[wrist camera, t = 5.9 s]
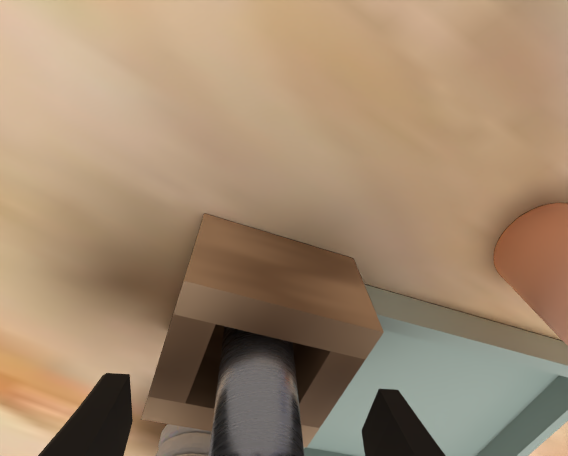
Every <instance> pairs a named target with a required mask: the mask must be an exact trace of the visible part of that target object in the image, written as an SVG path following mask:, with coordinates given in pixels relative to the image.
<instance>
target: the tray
mask: <svg viewBox="0 0 568 456" xmlns="http://www.w3.org/2000/svg"><path fill="white" fill-rule="evenodd" d="M364 285H365V284H364ZM365 288H366V290H367V293H368V295H369V298H370V300H371V302H372V305H373V307H374V310H375V312H376V315H377V317H378V319H379V322H380V324H381V327H382V329H383V332H384V333H383V334H382V336H381V337H380V339H379V340H378V342H377V343H376V345H375V346H374V348H373V349H372V351H371V352H370V354H369V355H368V357H367V358H366V360H365V361H364V363H363V364H362V366H361V367H360V369H359V370H358V372H357V373H356V375H355V376H354V378H353V379H352V381H351V382H350V384H349V385H348V387H347V388H346V390H345V391H344V393H343V394H342V396H341V397H340V399H339V400H338V402H337V403H336V405H335V406H334V408H333V409H332V411H331V412H330V414H329V415H328V417H327V418H326V420H325V421H324V423H323V424H322V426H321V427H320V428H319V430H318V431H317V433H316V434H315V436H314V437H313V439H312V440H311V442H310V443H309V445H308V446H307V448H306V447H304V456H365V452H364V445H363V438H362V428H363V426H364V423H365V421H366V418H367V416H368V414H369V411H370V409H371V406H372V404H373V401H374V399H375V397H376V394H377V392H378V389H394V390H399V392H400V393H401V394H402V396H403V397H404V398H405V400H406V401H407V403H408V404H409V406H410V407H411V408H412V410H413V411H414V413H415V414H416V415H417V417H418V418H419V420H420V421H421V422H422V424H423V425H424V427H425V428H426V429H427V431H428V432H429V434H430V435H431V436H432V438H433V439H434V440H435V442H436V443H437V445H438V446H439V447H440V449H441V450H442V451H443V453H444V454H445V455H446V456H528V455H529V454H530V453H532V452H533V451H534V450H535V449H536V448H537V447H538V446H540V445H541V444H542V443H543V442H544V441H545V440H546V439H548V438H549V437H550V436H551V435H552V434H553V433H554V432H555V431H557V430H558V429H559V428H560V427H561V426H562V425H563V424H565V423H566V422H567V421H568V346H567V345H566V344H565V343H564V342H563V341H560V340H556V339H553V338H550V337H546V336H543V335H539V334H536V333H532V332H529V331H525V330H522V329H518V328H515V327H511V326H508V325H504V324H501V323H497V322H494V321H490V320H487V319H483V318H480V317H476V316H473V315H469V314H466V313H462V312H459V311H455V310H452V309H448V308H445V307H442V306H438V305H435V304H431V303H428V302H424V301H421V300H417V299H414V298H410V297H407V296H403V295H400V294H396V293H393V292H389V291H386V290H382V289H379V288H375V287H372V286H368V285H365Z"/></svg>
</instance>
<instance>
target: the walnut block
mask: <svg viewBox="0 0 568 456" xmlns="http://www.w3.org/2000/svg"><path fill="white" fill-rule="evenodd" d="M224 326H226V327H230V328H234V329H238V330H243V331H247V332H251V333H255V334H260V335H264V336H268V337H272V338H277V339H281V340H285V341H289V342H293V352H294V361H295V371H296V380H297V390H298V399H299V409H300V418H301V428H302V437H303V447H306V448H307V446H308V445H309V443H310V442H311V440H312V439H313V437H314V436H315V434H316V433H317V431H318V430H319V428H320V427H321V426H322V424H323V423H324V421H325V420H326V418H327V417H328V415H329V414H330V412H331V411H332V409H333V408H334V406H335V405H336V403H337V402H338V400H339V399H340V397H341V396H342V394H343V393H344V391H345V390H346V388H347V387H348V385H349V384H350V382H351V381H352V379H353V378H354V376H355V375H356V373H357V372H358V370H359V369H360V367H361V366H362V364H363V363H364V361H365V360H366V358H367V357H368V355H369V354H370V352H371V351H372V349H373V348H374V346H375V345H376V343H377V342H378V340H379V339H380V337H381V336H382V334H383V333H384V332H383V329H382V327H381V324H380V322H379V319H378V317H377V315H376V312H375V310H374V307H373V305H372V302H371V300H370V298H369V295H368V293H367V290H366V288H365V285H364V283H363V280H362V278H361V276H360V273H359V271H358V268H357V266H356V263H355V261H354V259H353V258H350V257H347V256H344V255H340V254H337V253H334V252H330V251H327V250H324V249H320V248H317V247H314V246H311V245H307V244H304V243H301V242H297V241H294V240H291V239H287V238H284V237H281V236H277V235H274V234H271V233H268V232H264V231H261V230H258V229H254V228H251V227H248V226H244V225H241V224H238V223H234V222H231V221H228V220H225V219H221V218H218V217H215V216H211V215H208V214H205V213H204V216H203V219H202V223H201V226H200V229H199V232H198V236H197V239H196V242H195V245H194V248H193V252H192V255H191V258H190V261H189V265H188V268H187V271H186V274H185V278H184V281H183V284H182V287H181V291H180V294H179V297H178V300H177V304H176V307H175V310H174V313H173V316H172V320H171V323H170V326H169V329H168V333H167V336H166V339H165V342H164V346H163V349H162V352H161V355H160V359H159V362H158V365H157V368H156V372H155V375H154V378H153V381H152V385H151V388H150V391H149V395H148V398H147V401H146V404H145V408H144V411H143V414H142V417H141V420H147V421H153V422H159V423H164V424H170V425H176V426H182V427H188V428H194V429H200V430H206V431H212V425H213V417H214V409H215V400H216V392H217V384H218V375H219V367H220V359H221V350H222V342H223V334H224Z"/></svg>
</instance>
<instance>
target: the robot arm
mask: <svg viewBox="0 0 568 456" xmlns="http://www.w3.org/2000/svg"><path fill="white" fill-rule="evenodd" d="M131 425H132V406H131V390H130V375H129V374H112V373H106V374H105V375H103V376H102V377H101V379H100V380H99V381H98V383H97V384H96V385H95V387H94V388H93V389H92V391H91V392H90V393H89V395H88V396H87V397H86V399H85V400H84V401H83V402H82V404H81V405H80V406H79V408H78V409H77V410H76V411H75V413H74V414H73V415H72V416H71V417H70V419H69V420H68V421H67V422H66V424H65V425H64V426H63V427H62V428H61V430H60V431H59V432H58V433H57V434H56V435H55V437H54V438H53V439H52V440H51V441H50V442H49V444H48V445H47V446H46V447H45V448H44V449H43V451H42V452H41V453H40V454H39V455H38V456H123V455H124V451H125V448H126V444H127V440H128V436H129V433H130V429H131ZM362 438H363V445H364V452H365V456H446V455H445V454H444V453H443V451H442V450H441V449H440V447H439V446H438V445H437V443H436V442H435V440H434V439H433V438H432V436H431V435H430V434H429V432H428V431H427V429H426V428H425V427H424V425H423V424H422V422H421V421H420V420H419V418H418V417H417V415H416V414H415V413H414V411H413V410H412V408H411V407H410V406H409V404H408V403H407V401H406V400H405V398H404V397H403V396H402V394H401V393H400V392H399V390H394V389H378V392H377V394H376V397H375V399H374V401H373V404H372V406H371V409H370V411H369V414H368V416H367V418H366V421H365V423H364V426H363V428H362Z"/></svg>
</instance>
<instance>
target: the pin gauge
mask: <svg viewBox="0 0 568 456" xmlns="http://www.w3.org/2000/svg"><path fill="white" fill-rule="evenodd" d="M209 456H304V447H303V437H302V428H301V418H300V409H299V399H298V390H297V380H296V371H295V361H294V352H293V342H289V341H285V340H281V339H277V338H272V337H268V336H264V335H260V334H255V333H251V332H247V331H243V330H238V329H234V328H230V327H226V326H224V334H223V342H222V350H221V359H220V367H219V375H218V384H217V392H216V400H215V409H214V417H213V425H212V434H211V442H210V450H209Z"/></svg>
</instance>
